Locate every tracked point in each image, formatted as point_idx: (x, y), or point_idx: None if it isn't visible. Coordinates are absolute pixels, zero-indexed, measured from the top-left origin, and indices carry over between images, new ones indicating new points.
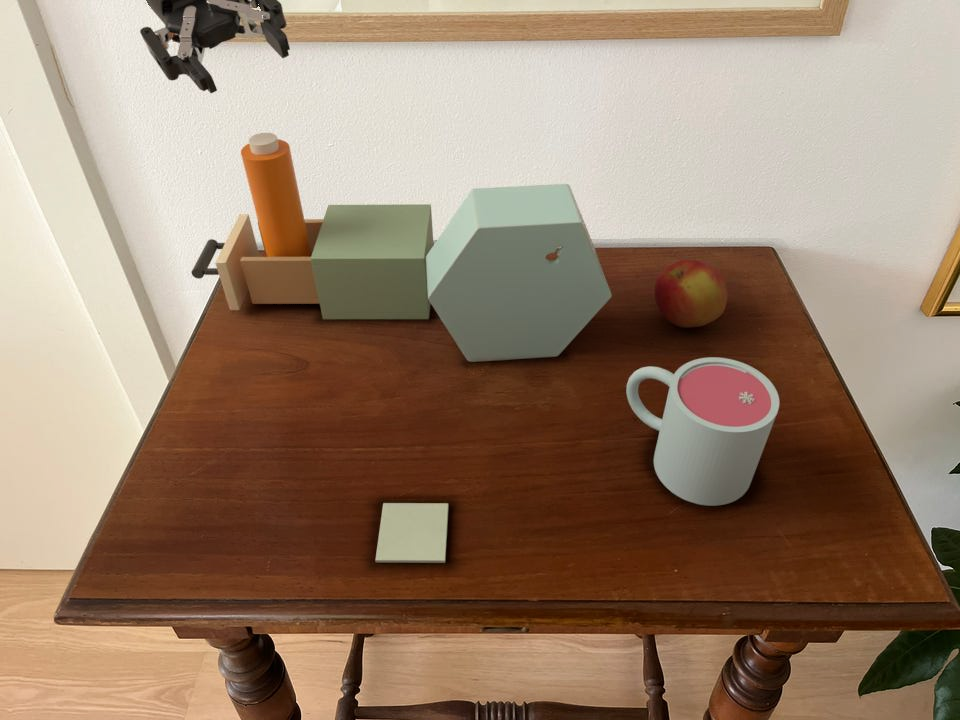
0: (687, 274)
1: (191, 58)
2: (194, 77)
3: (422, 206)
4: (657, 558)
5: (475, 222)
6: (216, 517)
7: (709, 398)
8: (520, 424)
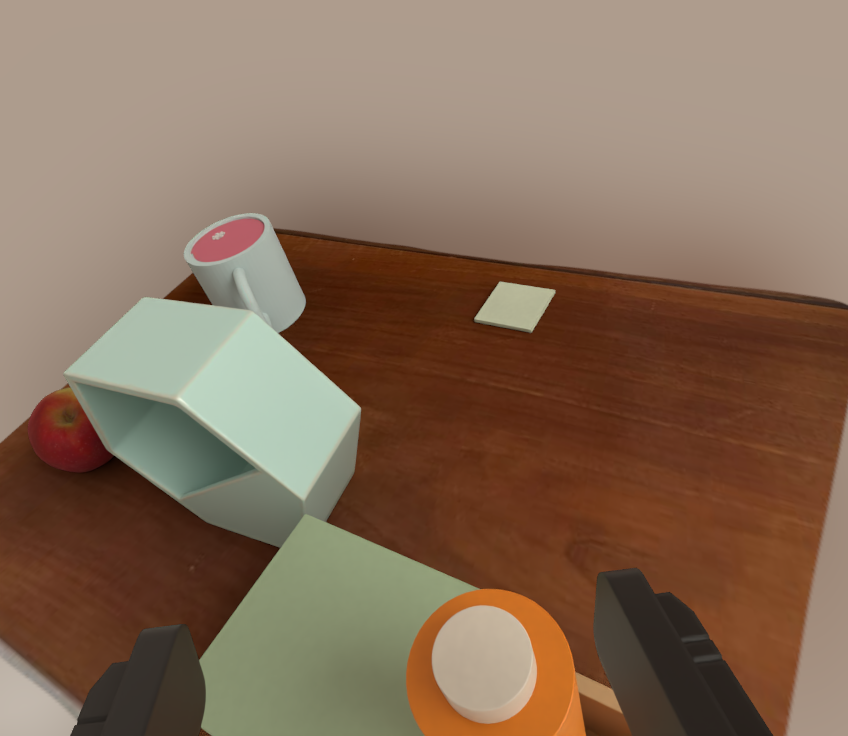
0: (69, 399)
1: (712, 720)
2: (697, 620)
3: None
4: (357, 266)
5: (243, 326)
6: (710, 355)
7: (239, 239)
8: (362, 380)
